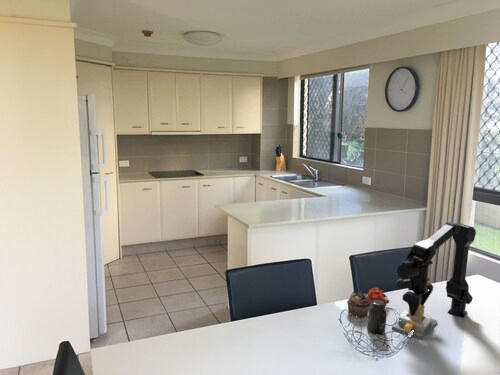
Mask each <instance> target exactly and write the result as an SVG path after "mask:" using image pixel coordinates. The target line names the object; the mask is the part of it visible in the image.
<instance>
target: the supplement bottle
mask: <svg viewBox="0 0 500 375" xmlns="http://www.w3.org/2000/svg"><path fill="white" fill-rule="evenodd" d="M387 317H388V312H387V310H386V306H385V303H384V302H383V301H380V300H374V301H373V302H372V304H371V306H370V308H369V311H368V315H367V325H366V326H367V327H366V328H367V329H366V330H367V331H368V332H369V333H370V334H373V335H375V334H377V336H381V335H384V334H385V333H386V327H387V326H386V325H387ZM383 333H384V334H383Z"/></svg>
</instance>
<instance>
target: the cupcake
mask: <svg viewBox="0 0 500 375" xmlns="http://www.w3.org/2000/svg"><path fill="white" fill-rule="evenodd" d="M346 303H347V310H348V314H349V313H351V315H350V316H351V317H354V318H356V316H357V317H358V319H363V318H368V315H369V309H370V308H371V304H370V301H369V299H368V295H367V293H364V292H363V291H362V290H358V291H352V292H350V296H349V299H348V300H347V301H346Z"/></svg>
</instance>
